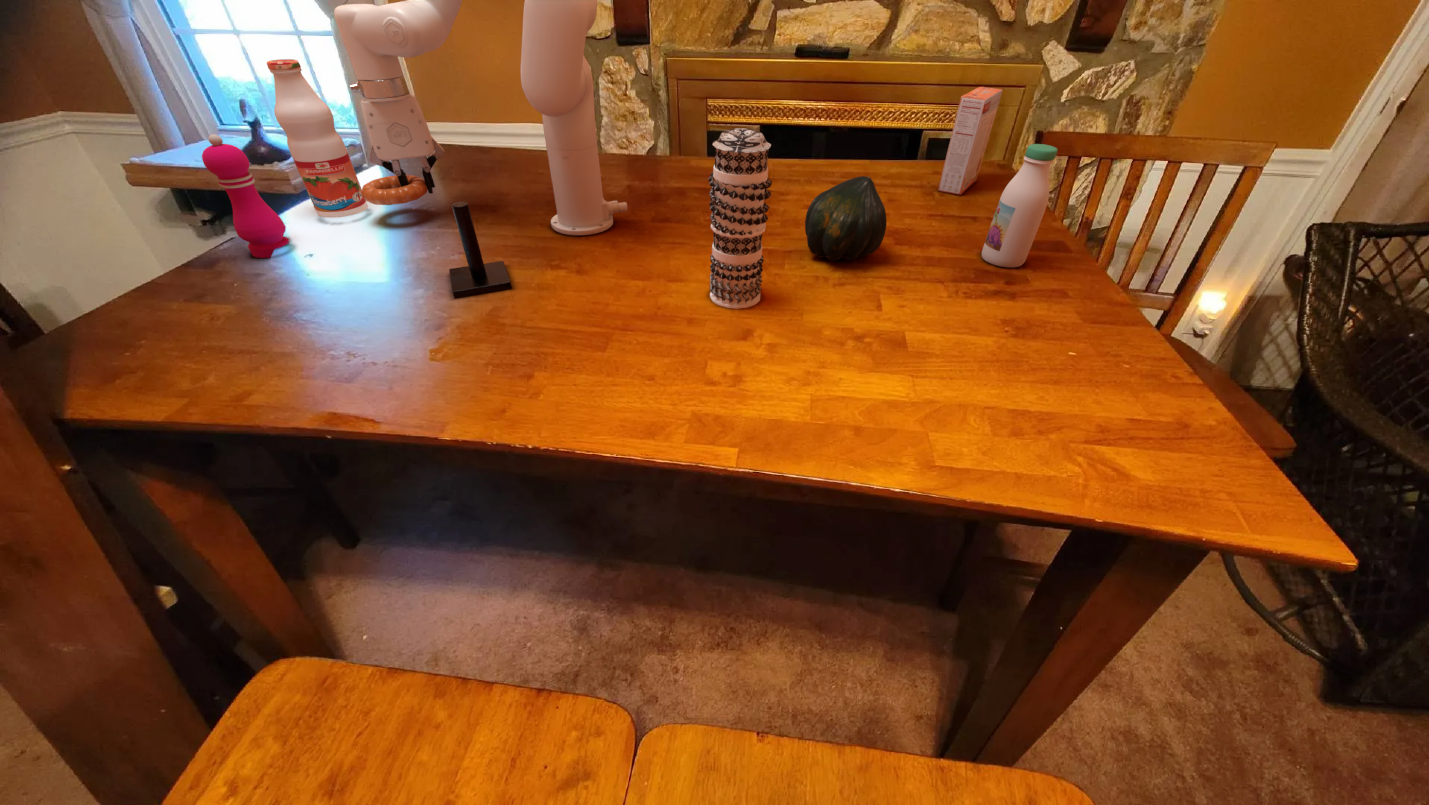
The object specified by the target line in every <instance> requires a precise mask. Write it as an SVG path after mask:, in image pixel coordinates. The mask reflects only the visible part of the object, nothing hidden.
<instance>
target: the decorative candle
mask: <svg viewBox="0 0 1429 805" xmlns="http://www.w3.org/2000/svg"><path fill="white" fill-rule="evenodd" d="M712 146H713V147H714V164H713V166H712V170H713V171H712V172H711V173H710V176H709V177H708V185H709V187H711V188H710V191H709V193H708V195H709V199H710V201H709V204H708V205H709V210H710V211H711V214H710V216H709V220H710V229H711V230H712V232H713V242H712V245H711V254H710V256H709V259H710V263H711V264H709V267H710V268H709V269H710V274H709V291H710V293H709V298H710V300H711V301H712V302H713V303H714V304H715V305H718V306H719V307H722V308H726V309H737V310H740V309H749V308H751V307H752V306H755V305H757V304H758V303H759V302H760V301H761V291H762V283H763V279H762V278H763V275H762V273H763V271H764V268H763V264H764V261H765V259H764V255H763V244H762V243H763V242H762V241H763V233H764V232H766V227H767V224H766V222H767V221H768V220H769V217H768V215H767V214H765V213H767V212H769V208H770V206H769V205H768V204H767V203H766V202H765V201H766V200H767V199H769V198H770V197H772V192H770V190H768V189H769V188H770V187H772V185H773V181H772V180H771V179H770V178H769V177H768V176H769V166H768V160H769V149H770V148H771V146H772V144H771V143H769V141H767V140H766V138H765V135H764V134H763V133H762V132H761V131H759V130H757V129H753V128H742V127H741V128H740V127H737V128H730V129H726V130H724V131H722V132H721V133H720V135H719V137H718V139H716V140H714V141H713V142H712Z"/></svg>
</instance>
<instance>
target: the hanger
mask: <svg viewBox="0 0 1429 805" xmlns="http://www.w3.org/2000/svg"><path fill="white" fill-rule="evenodd" d="M451 209H452V213H453V215H454V219H455V223H456V226H457V227H456V228H457V230H458V234H459V237H460V241H461V245H462V247H463V251H464V255H465V259H466V262H467V266H465V265H464V266H460V267H459V266H458V267H453V268H449V269H448V270H449V271H448V272H449V279H450V285H451V290H452V295H453V298H454V299H458V298H464V297H469V296H475V295H482V294H488V293H492V292H499V291H505V290H510V289H512V283H511V279H510V277H509V274H508V271H507V268H506V265H505V262H504V260H499V261H491V262H485V263H484V260H483V256H482V252H481V247H480V244H479V240H478V237H477V233H476V230H475V225H474V222H473V221H474V220H473V218H472V214H471V211H470V206H469V203H468V202H467V201H456V202H453V203H452V204H451Z"/></svg>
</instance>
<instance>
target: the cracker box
mask: <svg viewBox="0 0 1429 805" xmlns="http://www.w3.org/2000/svg"><path fill="white" fill-rule="evenodd" d="M1002 93H1003V89H1001V88H994V87H987V86H978V87H976V88H974V89H973V90H970V91H969V92H967V93H965V94H963V95H961V96H960V100H959V103H958V108H957V111H956V115H955V120H954V123H953V128H952V131H951V136H950V139H949V140H950V141H949V144H948V148H947V152H946V156H945V160H944V163H943V167H942V172H941V178H940V181H939V184H938V189H937V191H938V192H941V193H947V194H952V195H957V196H961V195H962V194H964V193H965V191H967V190H968V189H969V188H970V187H971V186H972V185H973V184H974V183H975V182H976V181H977V179H978V176H979V172H980V170H981V166H982V162H983V159H984V155H985V153H986V149H987V145H988V142H989V138H990V135H991V132H992V127H993V124H994V120H995V117H996V114H997V111H998V107H999V104H1000V100H1001V96H1002Z"/></svg>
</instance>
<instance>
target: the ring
mask: <svg viewBox="0 0 1429 805" xmlns="http://www.w3.org/2000/svg"><path fill="white" fill-rule="evenodd" d="M406 176H407V179H408V182H409V185H407V186H403V187H401V185H400V183H399V180H398V177H397V176H396V175H395V174H394V175H389V176H388V175H387V176H383V177H379V178H376V179H372V180H371V181H369V182H367V183H364V185H363V186H362V187H361V189H362V197H363V198H364V199H365V200H366V202H367V203H369V204H373V205H376V206H393V205H401V204H406V203H410V202H413V201H417V200H419V199H420V198H422V197H423V196H425V195H426V194H427V192H428V189H427V186H426V183H425V180H424V178H423V177H420V176H417V175H412V174H406Z"/></svg>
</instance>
